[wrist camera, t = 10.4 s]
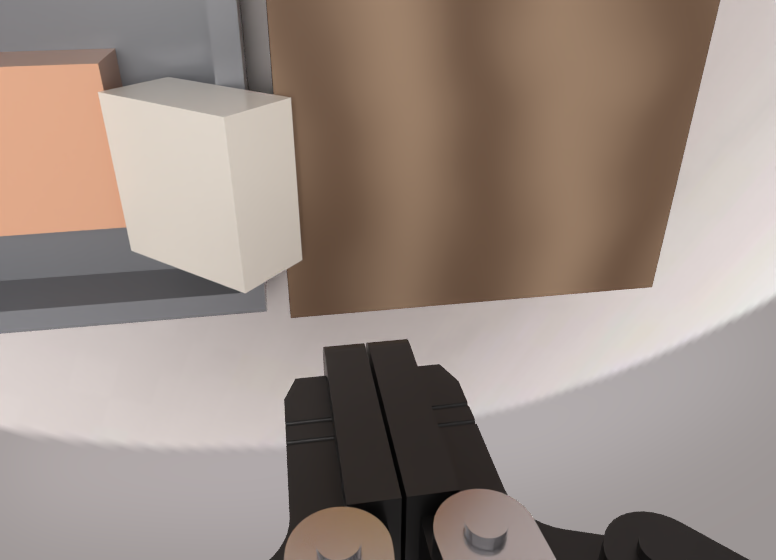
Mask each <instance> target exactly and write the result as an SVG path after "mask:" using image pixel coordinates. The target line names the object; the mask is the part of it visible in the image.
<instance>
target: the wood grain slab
mask: <svg viewBox="0 0 776 560" xmlns="http://www.w3.org/2000/svg"><path fill="white" fill-rule="evenodd" d="M719 3H720V0H266V6H267V19H268V32H269V45H270V58H271V71H272V84H273V95H279V96H285V97H291V106H292V121H293V135H294V149H295V163H296V177H297V192H298V206H299V220H300V234H301V248H302V261H300V262H298V263H296V264H295V265H293V266H291V267H290V268H288V269H287V278H288V290H289V302H290V314H291V318H296V317H308V316H319V315H331V314H343V313H355V312H366V311H378V310H390V309H401V308H413V307H425V306H436V305H448V304H460V303H471V302H483V301H495V300H506V299H518V298H530V297H542V296H553V295H565V294H577V293H588V292H600V291H612V290H623V289H635V288H647V287H652V285H653V281H654V276H655V272H656V268H657V264H658V260H659V255H660V251H661V247H662V243H663V239H664V234H665V230H666V226H667V222H668V218H669V213H670V209H671V205H672V201H673V197H674V192H675V188H676V184H677V180H678V175H679V171H680V167H681V163H682V159H683V154H684V150H685V146H686V142H687V138H688V133H689V129H690V125H691V121H692V117H693V112H694V108H695V104H696V100H697V96H698V91H699V87H700V83H701V79H702V75H703V70H704V66H705V62H706V58H707V54H708V49H709V45H710V41H711V37H712V33H713V28H714V24H715V20H716V16H717V12H718V7H719Z"/></svg>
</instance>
